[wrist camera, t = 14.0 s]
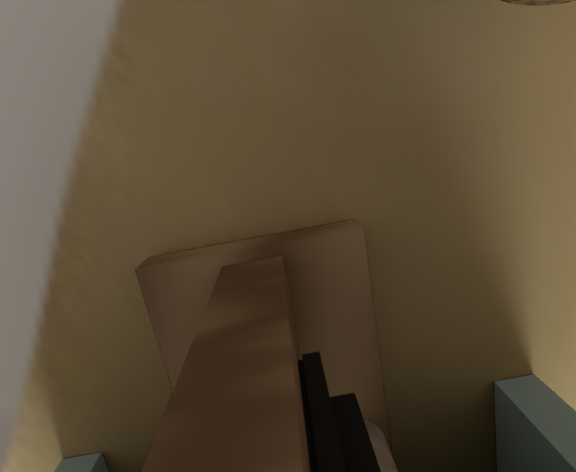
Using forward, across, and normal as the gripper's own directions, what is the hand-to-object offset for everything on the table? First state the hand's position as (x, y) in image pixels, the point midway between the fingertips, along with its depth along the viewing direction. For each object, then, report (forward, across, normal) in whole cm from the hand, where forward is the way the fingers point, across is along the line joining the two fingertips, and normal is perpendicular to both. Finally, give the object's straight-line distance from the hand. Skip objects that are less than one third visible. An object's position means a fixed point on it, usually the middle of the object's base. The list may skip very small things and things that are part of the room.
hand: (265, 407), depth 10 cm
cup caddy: (+6, 0, +3) cm, 7 cm away
